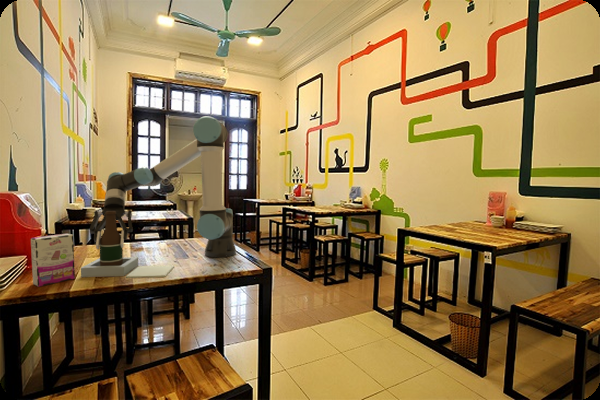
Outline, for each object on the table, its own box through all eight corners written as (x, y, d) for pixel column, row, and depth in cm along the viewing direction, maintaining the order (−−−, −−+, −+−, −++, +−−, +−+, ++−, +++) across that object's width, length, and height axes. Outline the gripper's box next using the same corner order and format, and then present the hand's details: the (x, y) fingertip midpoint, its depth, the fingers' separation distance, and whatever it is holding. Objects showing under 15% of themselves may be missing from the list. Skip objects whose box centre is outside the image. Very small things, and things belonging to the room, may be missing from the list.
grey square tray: (138, 265, 133) (138, 257, 133) (124, 275, 119) (124, 266, 118) (100, 266, 131) (100, 257, 131) (81, 277, 116) (80, 267, 116)
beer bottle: (99, 274, 120) (97, 212, 118) (101, 269, 126) (100, 210, 125) (122, 272, 123) (121, 211, 122) (123, 267, 130) (122, 210, 129)
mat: (174, 266, 132) (174, 265, 132) (165, 276, 119) (165, 275, 118) (139, 267, 130) (139, 266, 130) (125, 277, 116) (125, 276, 116)
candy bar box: (69, 276, 117) (68, 233, 116) (75, 278, 114) (74, 234, 113) (31, 284, 107) (29, 237, 106) (37, 287, 105) (35, 239, 104)
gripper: (141, 207, 141) (139, 249, 128) (88, 207, 133) (80, 253, 119) (140, 196, 136) (138, 239, 123) (85, 196, 128) (76, 242, 114)
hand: (109, 246), depth 121 cm, fingers closed on beer bottle, 7 cm apart
